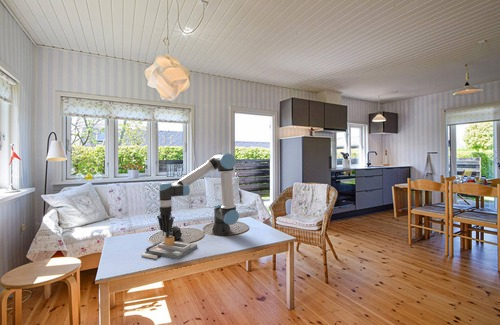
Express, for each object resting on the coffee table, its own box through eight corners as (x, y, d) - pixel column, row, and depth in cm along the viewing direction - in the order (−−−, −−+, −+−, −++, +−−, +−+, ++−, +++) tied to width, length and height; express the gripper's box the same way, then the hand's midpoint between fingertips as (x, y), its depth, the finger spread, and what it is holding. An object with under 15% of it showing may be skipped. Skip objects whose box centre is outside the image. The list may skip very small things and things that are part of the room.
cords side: (160, 243, 170) (160, 241, 170) (165, 244, 168) (165, 242, 168) (145, 251, 157) (145, 248, 157) (150, 252, 155) (150, 249, 155)
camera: (175, 243, 171) (175, 229, 170) (163, 242, 173) (162, 228, 173) (184, 237, 183) (184, 224, 183) (173, 236, 186) (173, 223, 186)
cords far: (140, 256, 148) (140, 253, 148) (146, 253, 152) (146, 250, 152) (155, 259, 144) (155, 256, 144) (161, 256, 148) (161, 253, 148)
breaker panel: (171, 243, 171) (171, 237, 171) (197, 247, 163) (197, 241, 163) (150, 253, 153) (150, 247, 153) (178, 259, 145) (178, 252, 145)
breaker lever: (169, 244, 162) (169, 234, 162) (174, 245, 161) (174, 235, 161) (165, 246, 158) (164, 237, 158) (169, 247, 157) (169, 237, 156)
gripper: (153, 206, 159) (154, 241, 159) (169, 208, 154) (169, 244, 155) (161, 204, 166) (162, 238, 166) (177, 205, 161) (177, 240, 162)
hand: (165, 241), depth 161 cm, fingers closed
